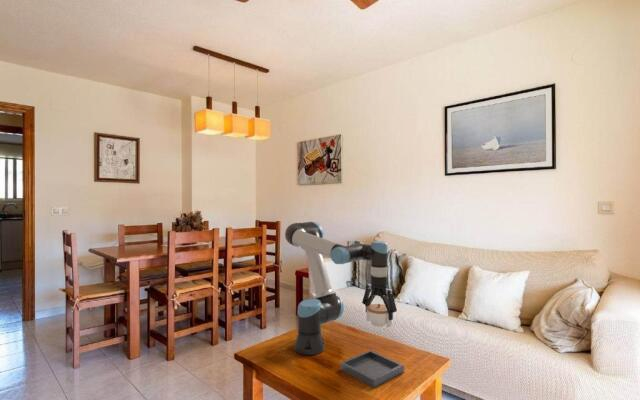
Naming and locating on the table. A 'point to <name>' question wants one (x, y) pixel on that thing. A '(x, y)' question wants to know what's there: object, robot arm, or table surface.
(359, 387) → the table surface
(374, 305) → the lidded jar
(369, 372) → the tray
